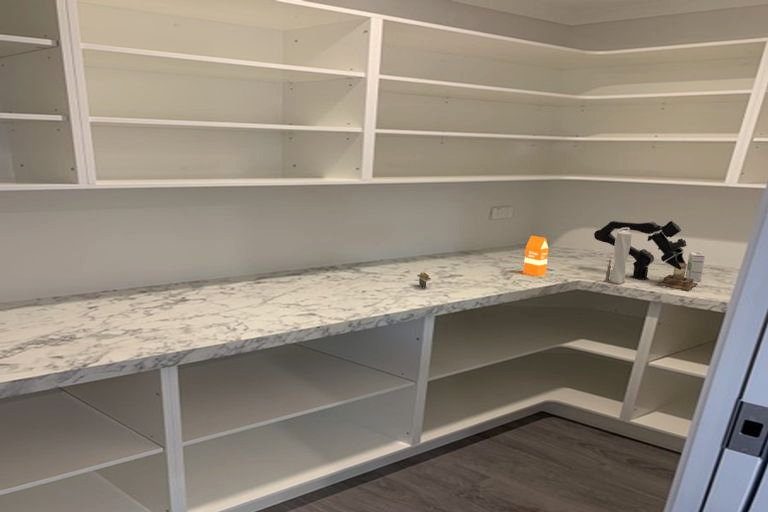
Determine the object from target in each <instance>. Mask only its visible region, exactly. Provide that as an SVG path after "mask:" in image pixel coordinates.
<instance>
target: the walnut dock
mask: <svg viewBox="0 0 768 512" xmlns="http://www.w3.org/2000/svg"><path fill="white" fill-rule="evenodd" d="M685 277H686V276H685ZM685 277H684V281H681V280H676V279H673V274H668V275H667V276H665V277H663V278H662V279H661V281H659V282H657V285H656V286H658V285H659V287H663V286H665V288H668V287H670V289H673V288H675V289H674V290H678V289H681V290H680V291H684V290H685V291H684V292H689V290H690V291H692V288H693V287H694V288H695V287H697V286H698V283H699V282H694V281H693V279H690V278H685ZM696 285H697V286H696ZM694 288H693V289H694Z"/></svg>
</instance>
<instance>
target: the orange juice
mask: <svg viewBox="0 0 768 512" xmlns="http://www.w3.org/2000/svg"><path fill="white" fill-rule="evenodd" d="M524 255H525V256H524V266H523V274H525V273H526V274H525V275H529V274H530V275H531V276H533V275H534V276H535V277H537V276H538V277H541V276H546V274H547V273H546V272H547V265H548V257H549V256H548V255H549V245H548V242H547V238H546V237H542V236H536V235H531V236H530V238H529V240H528V242H527V244H526V246H525V253H524ZM530 275H529V276H530Z"/></svg>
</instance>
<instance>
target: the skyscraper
mask: <svg viewBox="0 0 768 512" xmlns="http://www.w3.org/2000/svg"><path fill="white" fill-rule="evenodd" d="M625 229H628V230H625ZM629 229H630V228H621V229H617V232H616V235H615V238H616V239H615V246H613V259H614V261H613V262H614V263H613V266H611V262H612V261H611V257H609V260H608V265H607V271H606V274H605V276H606V277H605V280H604V282H605V283H610V284H613V285H622V284H625V282H626V261H627V259H628V257H629V250H630V246H632V245H631V244H632V235H633V233H632V232H630V230H629ZM611 267H612V270H611Z"/></svg>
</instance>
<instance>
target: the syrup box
mask: <svg viewBox="0 0 768 512" xmlns="http://www.w3.org/2000/svg"><path fill="white" fill-rule="evenodd" d="M688 254H689V255H688V260H687V266H686V271H685V278H690V279H693V282H697V281H700V282H701V280H702V275H703V269H704V263H705V257H706V255H705V254H703V253H701V252H689V253H688Z"/></svg>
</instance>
